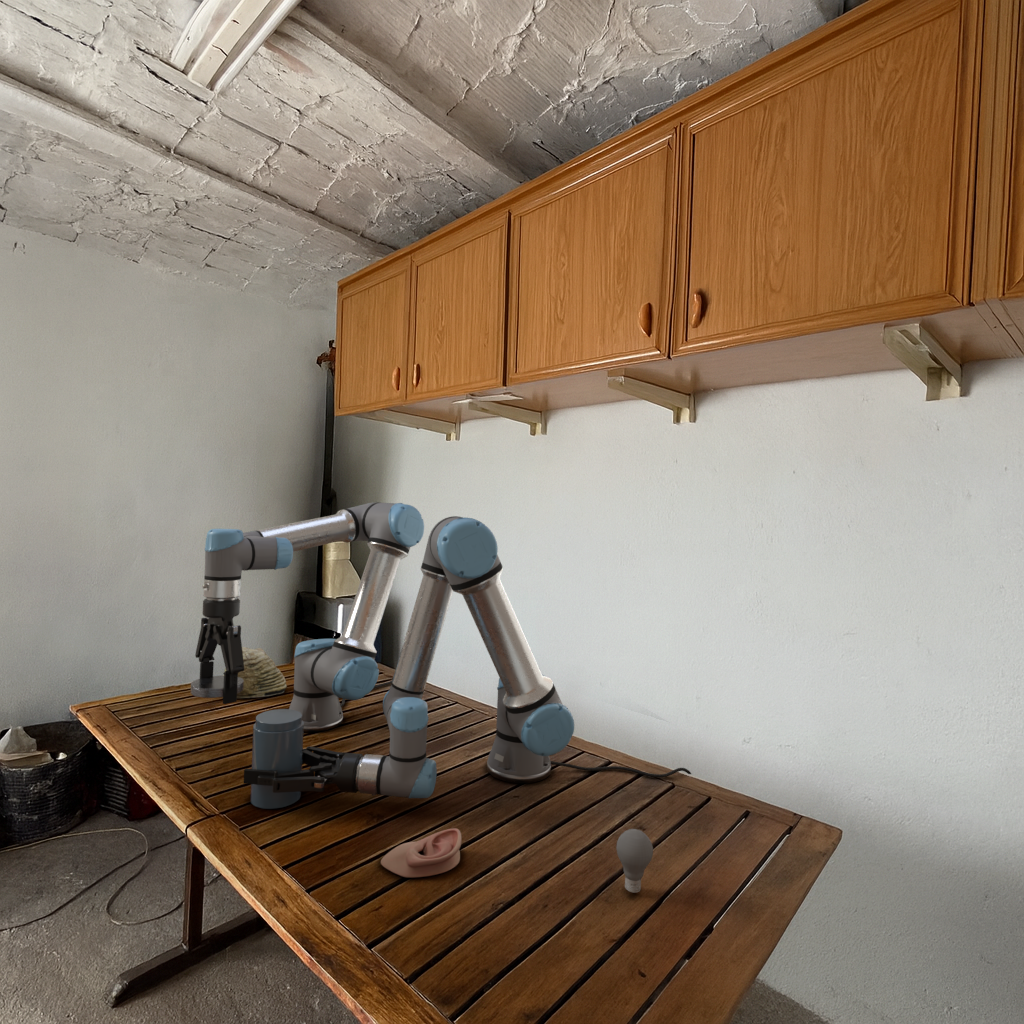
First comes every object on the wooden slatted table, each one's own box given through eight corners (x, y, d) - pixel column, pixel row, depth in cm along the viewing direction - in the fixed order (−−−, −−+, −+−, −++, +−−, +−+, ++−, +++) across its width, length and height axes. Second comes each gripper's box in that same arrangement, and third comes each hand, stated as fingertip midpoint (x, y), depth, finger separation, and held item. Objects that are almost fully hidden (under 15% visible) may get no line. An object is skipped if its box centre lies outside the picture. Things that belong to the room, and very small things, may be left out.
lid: (194, 684, 145) (195, 676, 145) (245, 682, 148) (245, 674, 148) (186, 699, 134) (186, 690, 134) (241, 696, 138) (241, 687, 138)
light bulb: (610, 879, 108) (613, 822, 108) (644, 879, 109) (647, 822, 109) (619, 902, 102) (622, 840, 102) (655, 901, 103) (658, 840, 103)
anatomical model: (374, 849, 108) (399, 816, 119) (373, 872, 108) (398, 837, 119) (448, 861, 105) (467, 826, 116) (447, 885, 105) (466, 848, 116)
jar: (308, 788, 137) (311, 709, 137) (289, 810, 127) (293, 725, 127) (263, 785, 138) (266, 706, 138) (241, 807, 128) (244, 722, 128)
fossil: (218, 695, 195) (220, 647, 195) (278, 685, 208) (279, 640, 207) (228, 703, 189) (230, 653, 188) (289, 692, 201) (290, 645, 201)
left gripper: (181, 592, 146) (177, 688, 146) (230, 606, 131) (225, 713, 131) (214, 590, 151) (210, 682, 152) (264, 603, 137) (259, 705, 137)
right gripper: (341, 818, 120) (228, 808, 122) (376, 768, 142) (280, 760, 144) (342, 779, 120) (229, 769, 122) (377, 735, 142) (282, 728, 144)
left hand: (217, 696), depth 141 cm, fingers closed on lid, 11 cm apart
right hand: (257, 765), depth 133 cm, fingers closed on jar, 10 cm apart
